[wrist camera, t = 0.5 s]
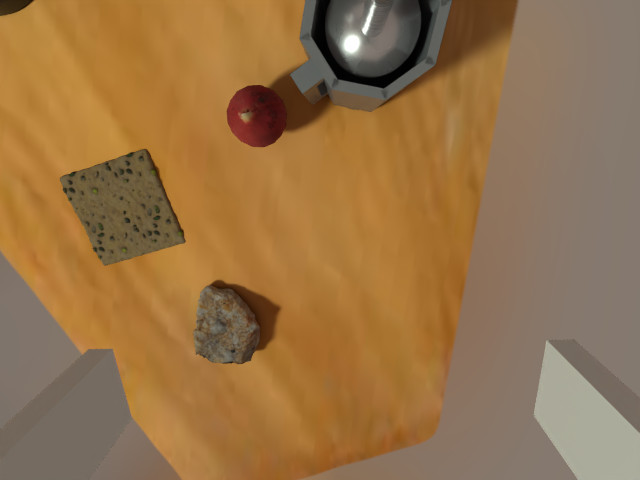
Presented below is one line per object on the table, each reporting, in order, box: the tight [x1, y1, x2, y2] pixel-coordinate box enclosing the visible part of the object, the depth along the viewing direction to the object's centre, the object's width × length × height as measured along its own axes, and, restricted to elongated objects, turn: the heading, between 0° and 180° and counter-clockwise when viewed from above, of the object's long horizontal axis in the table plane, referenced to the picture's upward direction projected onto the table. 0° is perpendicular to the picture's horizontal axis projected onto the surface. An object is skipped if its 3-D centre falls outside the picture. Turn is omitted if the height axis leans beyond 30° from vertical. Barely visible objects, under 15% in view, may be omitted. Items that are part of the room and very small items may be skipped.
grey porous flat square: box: [60, 149, 186, 266], centre depth 42 cm, size 12×12×1 cm
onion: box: [227, 85, 287, 147], centre depth 34 cm, size 6×6×8 cm
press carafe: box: [290, 0, 452, 112], centre depth 29 cm, size 9×11×14 cm
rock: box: [193, 285, 260, 364], centre depth 43 cm, size 9×6×10 cm
